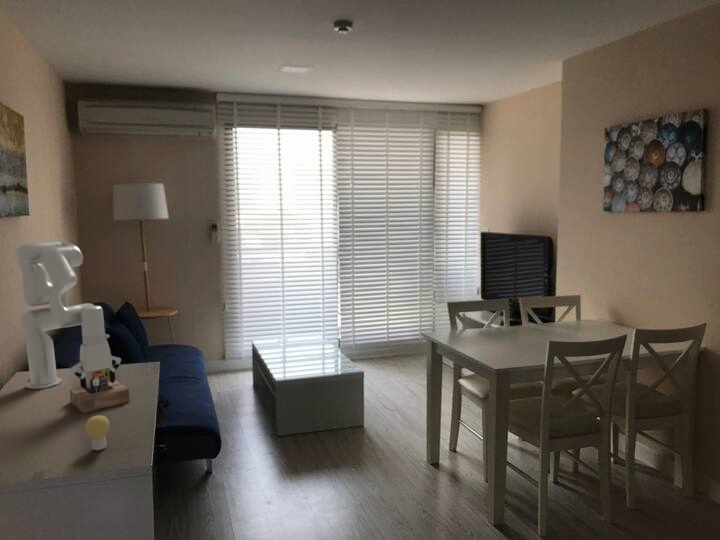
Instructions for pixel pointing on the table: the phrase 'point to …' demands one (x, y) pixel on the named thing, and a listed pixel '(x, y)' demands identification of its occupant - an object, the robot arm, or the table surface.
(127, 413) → the table surface
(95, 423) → the light bulb
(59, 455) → the table surface
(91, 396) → the socket block
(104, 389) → the pill bottle
